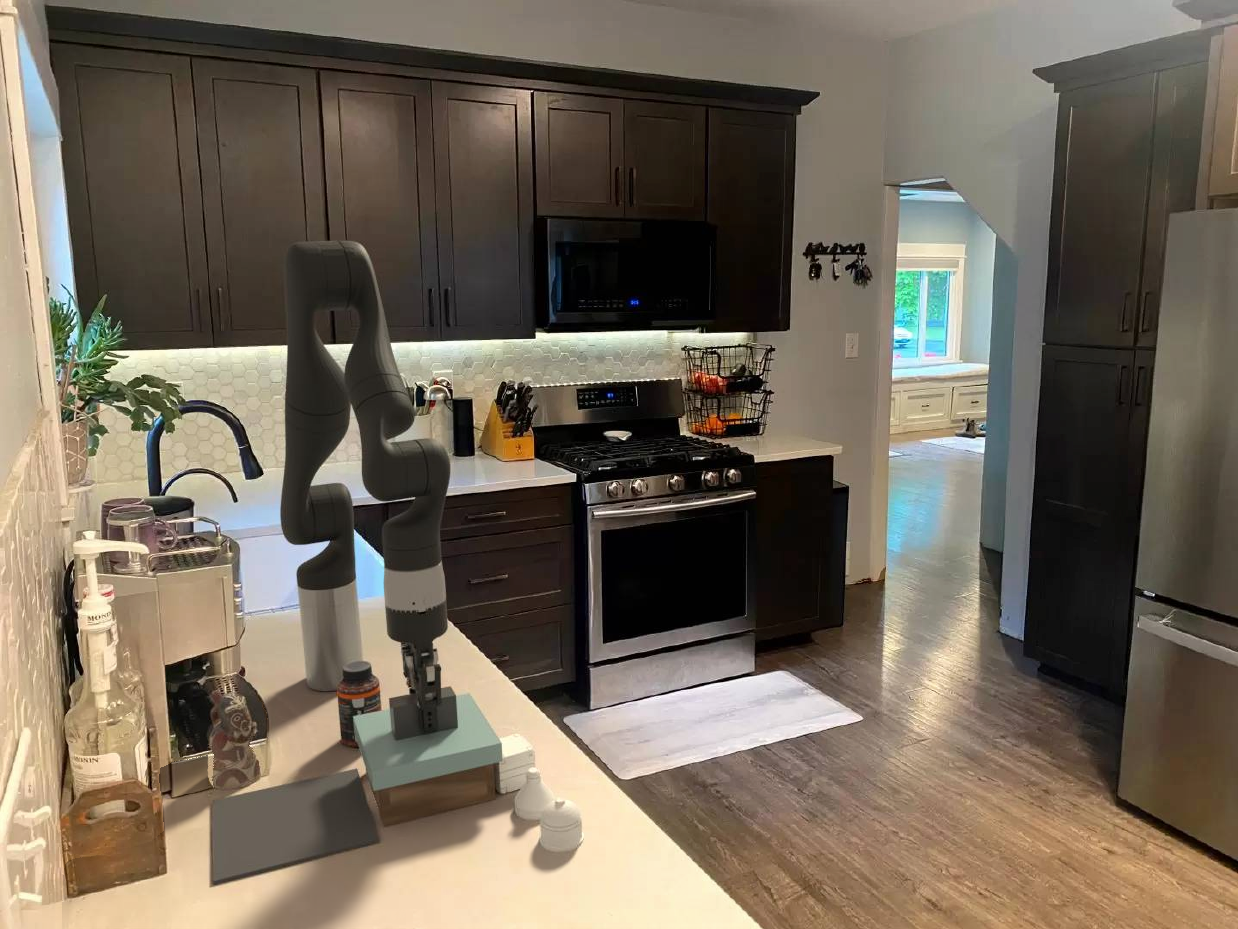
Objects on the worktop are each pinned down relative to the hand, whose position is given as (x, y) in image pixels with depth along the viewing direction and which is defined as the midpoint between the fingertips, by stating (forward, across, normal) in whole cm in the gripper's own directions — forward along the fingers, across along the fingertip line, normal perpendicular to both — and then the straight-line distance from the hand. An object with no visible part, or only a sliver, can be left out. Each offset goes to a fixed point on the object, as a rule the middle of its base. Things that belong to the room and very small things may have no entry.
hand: (424, 722), depth 120 cm
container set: (+9, +11, +11) cm, 18 cm away
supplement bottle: (+9, -17, -6) cm, 20 cm away
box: (+9, 0, 0) cm, 9 cm away
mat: (+9, +1, -17) cm, 19 cm away
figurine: (+9, -14, -23) cm, 28 cm away
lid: (+3, 0, 0) cm, 3 cm away
